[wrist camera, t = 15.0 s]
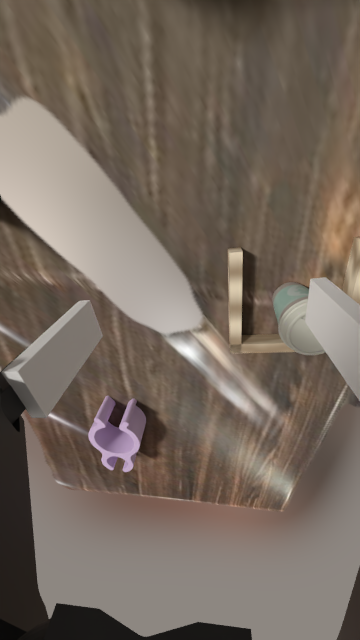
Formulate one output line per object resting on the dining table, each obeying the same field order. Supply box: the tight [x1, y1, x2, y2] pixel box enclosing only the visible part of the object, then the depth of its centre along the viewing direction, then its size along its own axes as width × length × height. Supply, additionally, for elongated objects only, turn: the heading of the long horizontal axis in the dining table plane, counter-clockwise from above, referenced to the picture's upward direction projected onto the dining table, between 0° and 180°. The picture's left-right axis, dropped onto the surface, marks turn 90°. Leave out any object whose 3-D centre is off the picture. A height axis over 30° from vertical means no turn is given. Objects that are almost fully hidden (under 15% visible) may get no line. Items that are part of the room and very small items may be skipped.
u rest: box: [228, 237, 360, 353], centre depth 41 cm, size 19×21×3 cm
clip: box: [89, 396, 146, 472], centre depth 61 cm, size 20×12×7 cm, turn 177°
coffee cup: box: [272, 282, 325, 355], centre depth 37 cm, size 8×9×12 cm
